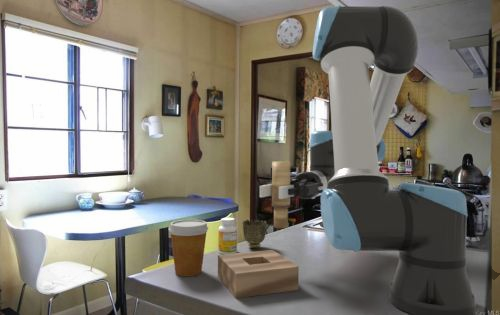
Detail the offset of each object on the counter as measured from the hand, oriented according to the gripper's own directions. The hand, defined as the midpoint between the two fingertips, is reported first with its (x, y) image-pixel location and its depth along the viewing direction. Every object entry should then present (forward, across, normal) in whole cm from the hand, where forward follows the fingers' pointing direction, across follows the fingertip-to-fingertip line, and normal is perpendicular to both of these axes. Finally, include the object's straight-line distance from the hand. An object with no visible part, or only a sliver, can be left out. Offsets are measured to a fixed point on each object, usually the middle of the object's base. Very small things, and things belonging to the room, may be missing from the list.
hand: (270, 192), depth 89 cm
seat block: (+5, +1, -20) cm, 21 cm away
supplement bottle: (-12, +21, -20) cm, 31 cm away
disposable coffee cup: (+7, +18, -20) cm, 28 cm away
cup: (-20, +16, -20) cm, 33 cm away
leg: (-5, 0, -9) cm, 11 cm away
